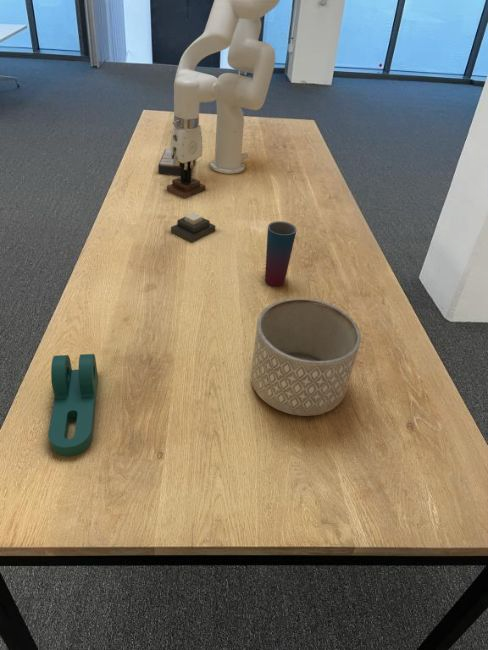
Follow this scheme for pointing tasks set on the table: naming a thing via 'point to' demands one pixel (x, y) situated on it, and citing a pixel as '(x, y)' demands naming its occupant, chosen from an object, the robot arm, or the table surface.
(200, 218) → the ivory key
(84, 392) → the bracket
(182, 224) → the block
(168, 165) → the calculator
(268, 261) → the cup
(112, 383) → the table surface
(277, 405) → the planter
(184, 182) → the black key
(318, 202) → the table surface
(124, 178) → the table surface
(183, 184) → the walnut key block
